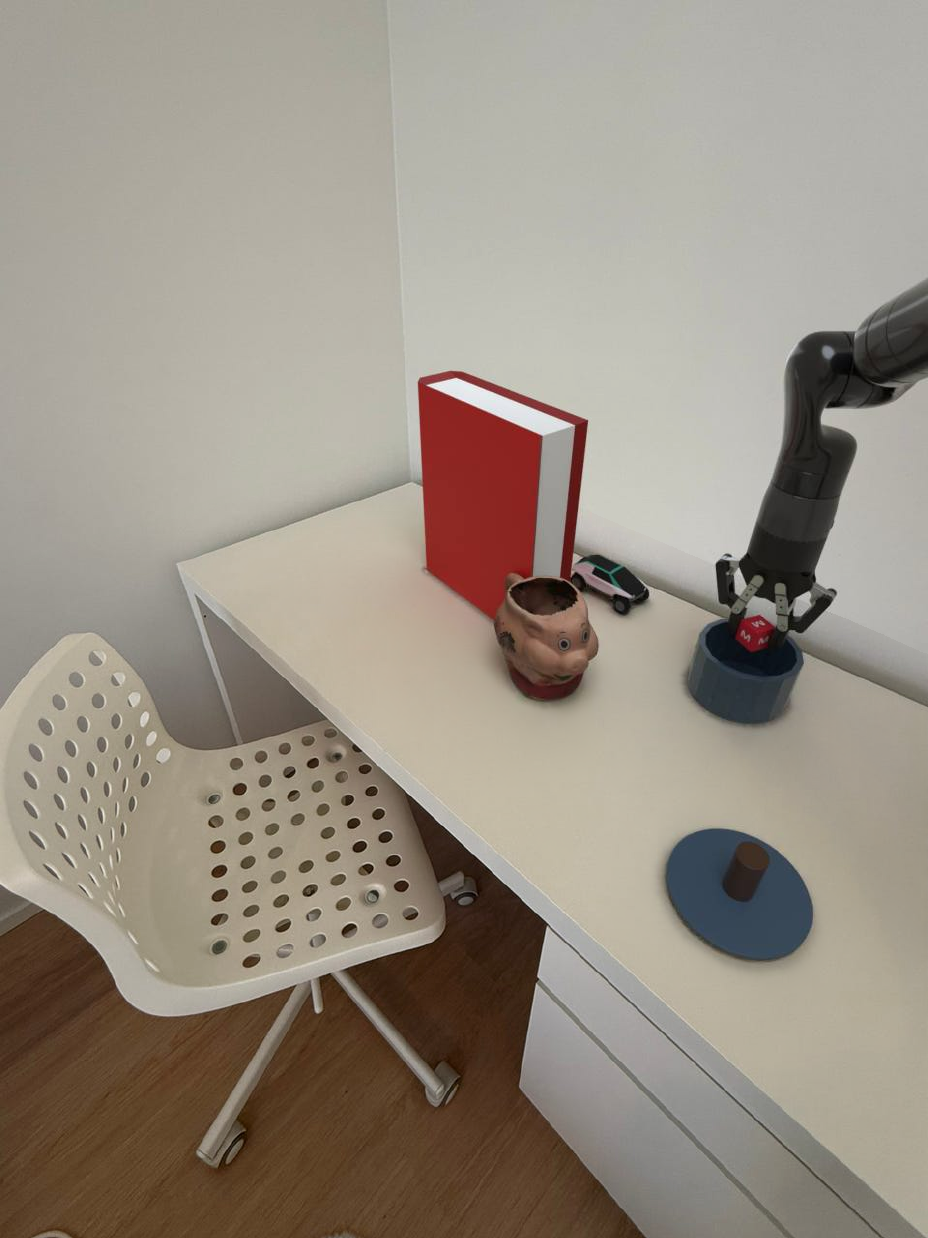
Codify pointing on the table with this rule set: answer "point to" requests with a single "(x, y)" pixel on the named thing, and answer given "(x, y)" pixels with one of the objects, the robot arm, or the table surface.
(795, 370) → the robot arm
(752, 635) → the dice
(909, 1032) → the table surface
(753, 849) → the lid
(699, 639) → the tin
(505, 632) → the decorative planter
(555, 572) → the book
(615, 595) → the toy car
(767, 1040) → the table surface
